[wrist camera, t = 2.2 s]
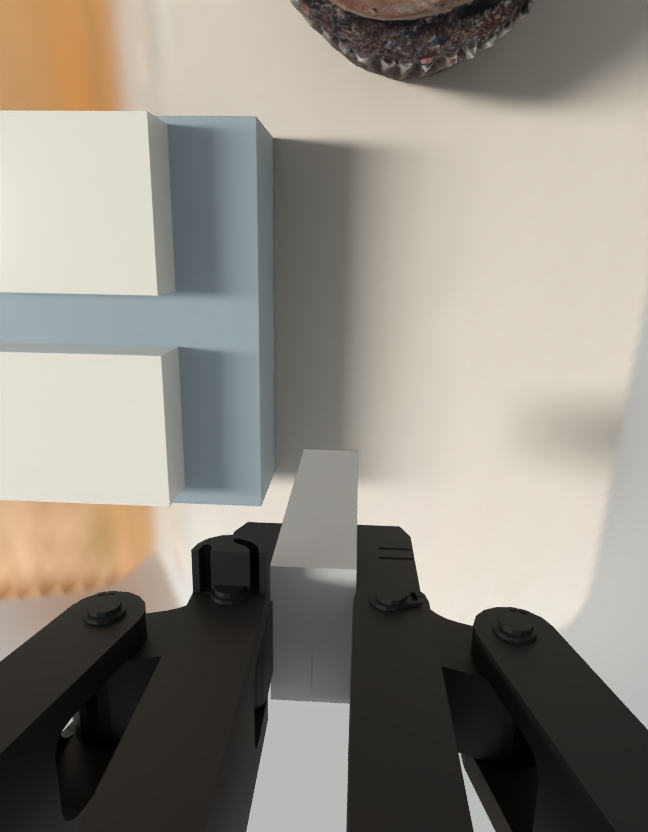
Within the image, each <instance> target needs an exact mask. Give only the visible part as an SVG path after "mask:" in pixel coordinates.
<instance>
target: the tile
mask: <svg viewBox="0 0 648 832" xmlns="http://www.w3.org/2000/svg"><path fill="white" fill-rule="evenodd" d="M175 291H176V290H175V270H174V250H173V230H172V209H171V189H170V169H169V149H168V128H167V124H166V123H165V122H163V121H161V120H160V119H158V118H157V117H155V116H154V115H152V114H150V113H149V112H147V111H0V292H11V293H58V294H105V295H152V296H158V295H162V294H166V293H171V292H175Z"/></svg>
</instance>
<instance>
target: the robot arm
mask: <svg viewBox="0 0 648 832" xmlns="http://www.w3.org/2000/svg"><path fill="white" fill-rule="evenodd" d="M357 481H358V451H349V450H320V449H304V450H303V454H302V457H301V461H300V464H299V468H298V471H297V475H296V478H295V481H294V485H293V488H292V492H291V495H290V499H289V502H288V506H287V509H286V512H285V516H284V519H283V523H257V522H247V523H246V524H245V525H243V526H242V527H240V528H239V529H238V530H236V531H235V532H234V534H233V535H222V536H217V537H213V538H209V539H207V540H204V541H202V542H200V543H198V544H197V545H196V546H195V547H194V548H193V549H192V550H191V553H192V576H193V594H192V596H191V598H190V600H189V602H188V604H187V605H186V606H183V607H181V608H177V609H172V610H168V611H161V612H154V613H147V614H146V610H145V602H144V601H143V600H142V599H141V598H140V597H139V596H137V595H134V594H132V593H129V592H118V591H108V592H101V593H97V594H95V595H92V596H89V597H86V598H84V599H82V600H80V601H79V602H77V603H75V604H74V605H72V606H71V607H70V608H68V609H67V610H66V611H64V612H63V613H62V614H60V615H59V616H58V617H57V618H55V619H54V620H53V621H52V622H50V623H49V624H48V625H47V626H45V627H44V628H43V629H41V630H40V631H39V632H38V633H36V634H35V635H34V636H32V637H31V638H30V639H29V640H27V641H26V642H25V643H24V644H23V645H21V646H20V647H19V648H17V649H16V650H15V651H14V652H12V653H11V654H10V655H8V656H7V657H6V658H4V659H3V660H2V661H1V662H0V832H246V829H247V824H248V819H249V814H250V809H251V804H252V799H253V793H254V788H255V783H256V778H257V773H258V768H259V763H260V757H261V752H262V747H263V742H264V737H265V732H266V727H267V721H268V691H269V687H270V682H271V699H277V700H294V701H295V700H296V701H312V702H330V703H349V704H350V719H349V748H348V792H347V793H348V794H347V831H346V832H473V827H472V821H471V816H470V811H469V806H468V801H467V796H466V790H465V786H464V780H463V775H462V770H461V765H460V760H459V754H458V753H461V757H462V761H463V765H464V768H465V770H466V772H467V774H468V776H469V778H470V781H471V783H472V784H473V787H474V788H475V791H476V793H477V795H478V797H479V799H480V801H481V802H482V805H483V807H484V809H485V811H486V813H487V815H488V817H489V819H490V821H491V823H492V825H493V827H494V829H495V831H496V832H648V730H647V729H646V728H645V726H644V725H643V724H642V723H641V722H640V721H639V720H638V719H637V718H636V717H635V715H634V714H632V712H631V711H630V710H629V709H628V708H627V707H626V706H625V705H624V704H623V702H622V701H621V700H620V699H619V698H618V697H617V696H616V695H615V694H614V693H613V692H612V690H611V689H610V688H609V687H608V686H607V685H606V684H605V683H604V682H603V681H602V680H601V678H600V677H599V676H598V675H597V674H596V673H595V672H594V671H593V670H592V669H591V668H590V666H589V665H588V664H587V663H586V662H585V661H584V660H583V659H582V658H581V657H580V656H579V654H577V652H576V651H575V650H574V649H573V648H572V647H571V646H570V645H569V644H568V642H567V641H566V640H565V639H564V638H563V637H562V636H561V635H560V634H559V633H558V632H557V630H556V629H555V628H554V627H553V626H552V625H550V624H549V623H548V622H547V621H545V620H544V619H543V618H542V617H539V616H537V615H535V614H533V613H530V612H528V611H526V610H523V609H517V608H513V607H495V608H491V609H487V610H484V611H482V612H481V613H480V614H478V615H477V616H476V618H475V621H474V624H473V626H470V625H466V624H462V623H458V622H455V621H452V620H449V619H446V618H444V617H442V616H440V615H438V614H436V613H435V612H433V611H432V610H430V605H429V602H428V600H427V598H426V596H425V594H423V593H422V592H420V587H419V582H418V576H417V570H416V565H415V561H414V554H413V548H412V543H411V537H410V536H409V535H408V534H407V533H406V532H405V531H404V530H403V529H402V528H401V527H397V526H372V525H357ZM72 717H73V722H72V723H71V724H70V725H69V726H68V727H67V728H66V729H65V730H64V731H62V730H63V729H64V728H65V726H66V724H67V723H68V722H69V720H70V719H71V718H72Z"/></svg>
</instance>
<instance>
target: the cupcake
mask: <svg viewBox="0 0 648 832" xmlns="http://www.w3.org/2000/svg"><path fill="white" fill-rule="evenodd" d="M535 1H537V0H290V2H291V3H292V4H293V5H294V7H295V8H296V9H297V10H298V11H299V12H300V13H301V14H302V15H303V17H304V18H305V19H306V21H307V22H308V23H309V25H310V26H311V27H312V28H313V29H315V30H316V31H317V32H319V33H320V34H321V35H323V37H324V38H325V39H326V40H327V41H328V42H329V43H330V44H331V45H332V46H333V47H334V48H335V49H336V50H337V51H339V52H341V53H342V54H343V55H344V56H345V57H346V58H347V59H348V60H349V61H351V62H352V63H354V64H355V65H356V66H359V67H361V68H363V69H365V70H367V71H369V72H373V73H377V74H380V75H384V76H386V77H388V78H391V79H394V80H402V79H404V78H407V77H411V78H419V77H424V76H431V75H434V74H436V73H439V72H441V71H443V70H445V69H447V68H448V67H450V66H452V65H454V64H457V63H458V62H460V61H465V60H469V59H471V58H474V57H475V52H478V51H480V50H484V49H487V48H489V47H492V46H493V45H494V43H495V40H496V39H498V38H501V37H502V36H504V35H505V34H506V33H508V32H509V31H510V30H511V29H512V28H513V24H515V23H516V22H518V21H519V20H521V19H522V18H523V17H525V16H526V15H528V14H529V13H530V4H532V3H534V2H535Z"/></svg>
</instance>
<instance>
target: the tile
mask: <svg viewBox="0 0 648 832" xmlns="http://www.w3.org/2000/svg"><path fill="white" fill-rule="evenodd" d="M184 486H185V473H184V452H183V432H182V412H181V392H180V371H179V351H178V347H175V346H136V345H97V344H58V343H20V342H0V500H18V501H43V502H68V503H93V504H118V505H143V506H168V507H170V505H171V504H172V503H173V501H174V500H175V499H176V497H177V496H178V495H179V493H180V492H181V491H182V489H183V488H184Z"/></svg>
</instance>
